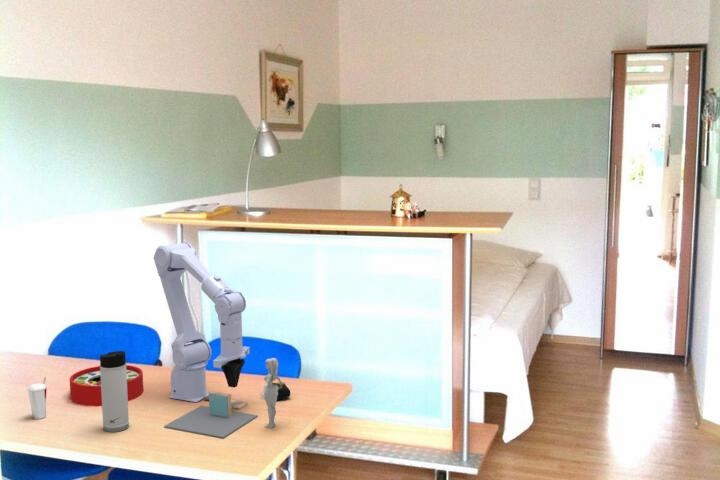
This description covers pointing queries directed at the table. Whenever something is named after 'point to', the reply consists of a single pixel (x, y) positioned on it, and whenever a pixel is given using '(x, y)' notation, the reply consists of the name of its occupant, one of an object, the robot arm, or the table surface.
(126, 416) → the travel mug
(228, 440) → the table surface
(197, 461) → the table surface
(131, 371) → the toy clock
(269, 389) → the human figurine
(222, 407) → the tile
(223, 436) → the mat
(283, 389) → the tape measure
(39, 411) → the milkshake
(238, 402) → the turner
